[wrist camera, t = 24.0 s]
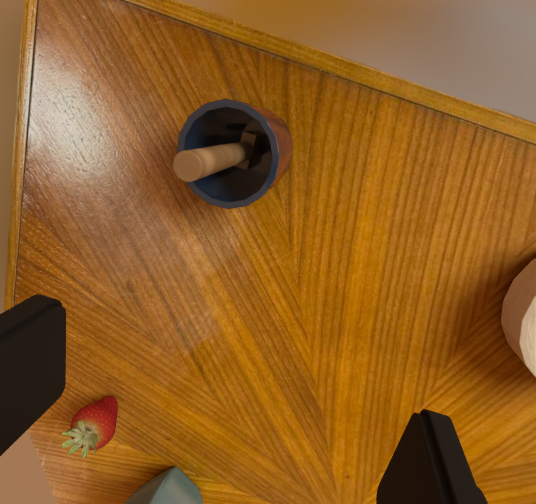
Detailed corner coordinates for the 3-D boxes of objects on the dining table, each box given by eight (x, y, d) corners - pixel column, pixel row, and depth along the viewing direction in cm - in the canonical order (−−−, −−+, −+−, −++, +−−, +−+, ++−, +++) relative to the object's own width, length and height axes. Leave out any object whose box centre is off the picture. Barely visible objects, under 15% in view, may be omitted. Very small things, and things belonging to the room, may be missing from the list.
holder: (221, 99, 33) (183, 89, 25) (301, 116, 32) (289, 112, 24) (210, 179, 36) (171, 194, 27) (283, 196, 35) (266, 218, 27)
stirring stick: (248, 129, 33) (178, 132, 18) (265, 135, 33) (207, 142, 18) (240, 162, 34) (166, 189, 19) (256, 167, 34) (195, 199, 19)
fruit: (138, 397, 47) (101, 448, 39) (124, 423, 48) (86, 477, 41) (103, 377, 46) (59, 424, 39) (91, 404, 48) (46, 454, 41)
